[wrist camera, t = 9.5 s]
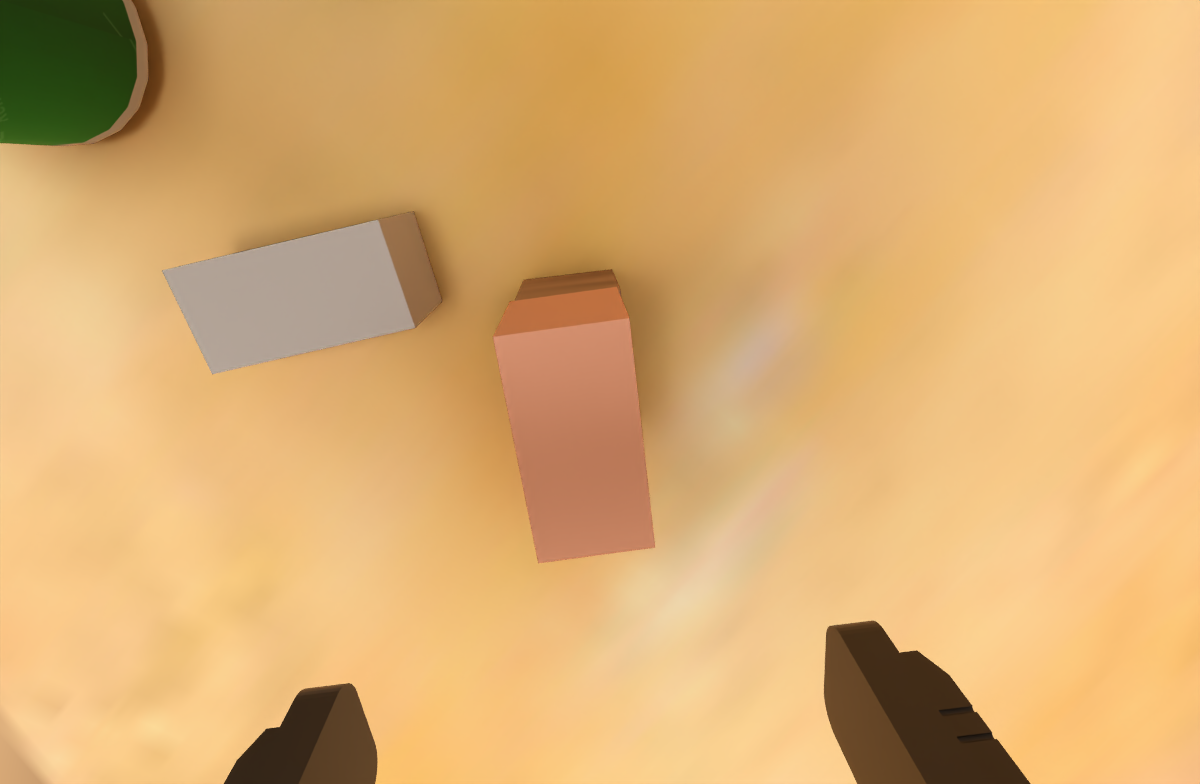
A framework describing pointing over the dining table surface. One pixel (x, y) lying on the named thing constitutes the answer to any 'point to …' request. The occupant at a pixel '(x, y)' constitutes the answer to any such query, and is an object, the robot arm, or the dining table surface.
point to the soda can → (69, 70)
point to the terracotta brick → (576, 423)
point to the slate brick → (307, 293)
